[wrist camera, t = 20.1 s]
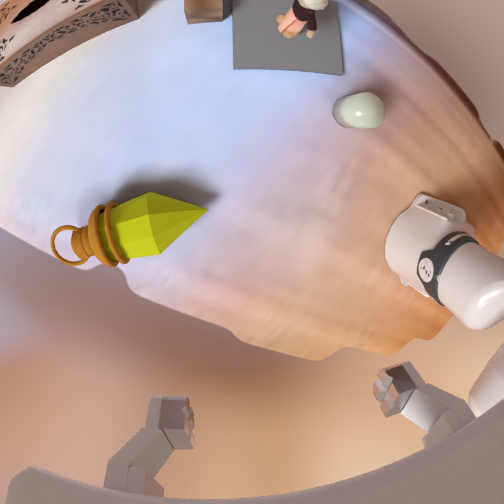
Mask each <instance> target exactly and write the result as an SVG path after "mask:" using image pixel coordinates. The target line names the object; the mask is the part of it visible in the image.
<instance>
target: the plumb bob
mask: <svg viewBox="0 0 504 504" xmlns="http://www.w3.org/2000/svg"><path fill="white" fill-rule="evenodd" d="M111 207H113V208H111ZM207 210H208V209H206V208H203V207H200V206H196V205H193V204H190V203H187V202H183V201H180V200H177V199H173V198H170V197H167V196H163V195H160V194H157V193H153V192H148V193H145V194H143V195H141V196H138V197H136V198H133V199H131V200H129V201H127V202H124V203H122V204H120V205H118V204H117V203H116V202H114V201H110V202H108V203H107V205H106V206H104V205H98V206H97V207H96V208H95V209H94V210H93V211H92V213H91V215H90V217H89V220H88V225H87V226H85V227H81V228H77V227H75V226H71V225H64V226H61V227H59V228H57V229H56V230H55V231H54V232H53V234H52V237H51V248H52V251H53V253H54V255H55V256H56V257H57V258H58V259H59V260H60V261H61V262H63V263H65V264H67V265H72V266H77V265H81V264H83V263H85V262H86V261H87V260H88V259H89V257H90V256H94V255H95V256H96V257H97V259H98V260H99V261H100V262H102V263H103V264H105V265H108V266H110V267H115V266H117V265H118V263H119V262H120V263H122V264H126V263H128V262H129V260H130V258H137V257H144V256H151V255H159V254H161V253H162V252H163V251H164V250H165V249H166V248H167V247H168V246H169V245H170V244H171V243H172V242H173V241H175V240H176V239H177V238H178V237H179V236H180V235H181V234H182V233H183V232H184V231H185V230H186V229H187V228H189V227H190V226H191V225H192V224H193V223H194V222H195V221H196V220H197V219H198V218H200V217H201V216H202V215H203V214H204V213H205V212H206V211H207ZM62 230H73V233H72V237H71V246H72V249H73V251H74V253H75V254H76V255H77V256H78V257H79V258H80V259H82V260H80V261H76V262H72V261H68V260H66V259H64V258H62V257H61V256H60V255H59V254H58V252H57V251H56V249H55V245H54V240H55V237H56V235H57V234H58V233H59V232H60V231H62Z"/></svg>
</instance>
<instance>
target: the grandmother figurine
mask: <svg viewBox="0 0 504 504" xmlns="http://www.w3.org/2000/svg"><path fill="white" fill-rule="evenodd" d="M327 4H328V0H294V2H293V5H292V7H291V9H290V10H289V11H288V12H287V13H286V15H284V14H280V15H278V16H277V17H276V20H277V22H278V23H279V26H278V30H279V31H280V32H282V34H283V36H284V37H286V38H289V39H290V38H294V37H296V36H299V35H300V31H301V30H302V29H303V27H304V25H305V24H306V22H307V33H306V36H307V37H308V38H313V37H314V33H315V31H316V30H317V24H316V18H315V10H320V9H324V8H325V7H326V6H327Z"/></svg>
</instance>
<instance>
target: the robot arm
mask: <svg viewBox="0 0 504 504" xmlns="http://www.w3.org/2000/svg"><path fill="white" fill-rule="evenodd" d="M425 201H426V203H425ZM385 256H386V261H387V264H388V266H389V267H390V269H391V270H392V271H393V272H395V273H396V274H397V275H398V276H399V278H400V281H401V283H402V284H403V285H404V286H410V285H411V286H412V287H414V288H415V289H416V290H418V291H419V292H420V293H422V294H423V295H425V296H427V297H429V296H431V298H432V299H433V300H434V301H435V302H437V303H439V304H440V305H442V306H446V307H447V308H448V309H449V310H450V311H451V312H452V313H453V314H454V315H455V316H456V317H457V318H458V319H459V320H460V321H461V322H462V323H463V324H464V325H465V326H466V327H468V328H470V329H472V330H484V329H488V328H490V327H492V326H494V325H496V324H497V323H499V322H501V321H502V320H504V258H501V257H499V256H498V255H496V254H494V253H492V252H490V251H488V250H486V249H485V247H484V248H483V247H482V245H481V246H480V245H479V243H478V242H477V241H476V239H475V238H474V229H473V226H472V225H471V224H469V223H467V222H466V215H465V211H464V209H462V208H460V207H458V206H455V205H453V204H450V203H447V202H445V201H442V200H439V199H437V198H434V197H431V196H428V195H425V194H422V193H420V194H418V195H417V196H416V198H415V199H414V201H413V203H412V204H411V206H410V207H409V208H408V209H406V210H405V211H404V212H402V213H401V214H400V215H399V216H398V218H397V219H396V220H395V222H394V223H393V225H392V227H391V228H390V231H389V233H388V236H387V240H386V245H385ZM378 377H379V378H378V379H377V380H376V381H375V382H374V385H373V393H374V396H375V398H376V400H378V401H379V402H381V405H380V408H381V410H382V412H383V414H384V415H385V417H389V416H392V415H394V414H397V413H400V412H401V414H403V415H404V416H405V417H407V418H408V419H410V420H411V421H413V422H414V423H416V424H417V425H419V426H420V427H421V428H423V429H424V430H426V431H427V432H428V433H427V434H426V435H425V436H424V438H423V439H422V443H423V445H424V446H425V449H423V450H421V451H418V452H416V453H414V454H412V455H410V456H408V457H406V458H403V459H401V460H399V461H396V462H394V463H392V464H389V465H387V466H384V467H381V468H379V469H376V470H374V471H371V472H368V473H365V474H362V475H359V476H356V477H353V478H349V479H346V480H343V481H339V482H336V483H332V484H328V485H324V486H319V487H315V488H311V489H306V490H301V491H296V492H290V493H284V494H277V495H270V496H261V497H251V498H240V499H239V498H238V499H180V498H179V499H178V498H165V497H164V488H163V487H162V486H161V485H160V484H159V483H158V482H157V481H156V480H155V479H154V477H155V475H156V474H157V473H158V471H159V470H160V469H161V468H162V466H163V465H164V463H165V462H166V461H167V459H168V458H169V456H170V455H171V454H172V452H173V451H174V449H194V435H193V432H192V430H193V428H194V413H193V409H192V407H190V401H189V398H188V397H165V396H164V397H163V396H152V397H151V398H150V401H149V407H148V413H147V419H146V426H145V428H141V429H140V430H139V431H138V432H137V433H136V434H135V435H134V436H133V437H132V438H131V439H130V440H129V441H128V442H127V443H126V444H125V445H124V446H123V447H122V448H121V449H120V450H119V451H118V452H117V453H116V454H115V455H114V456H113V457H112V458H111V459H110V460H109V461H108V465H107V470H106V476H105V482H104V487H99V486H95V485H92V484H88V483H84V482H81V481H77V480H74V479H71V478H68V477H65V476H62V475H59V474H56V473H53V472H51V471H48V470H45V469H42V468H40V467H37V466H30V467H28V468H26V469H25V470H23V471H22V472H20V473H19V474H17V475H16V476H15V477H14V478H12V480H11V481H10V484H9V487H8V492H7V497H6V502H5V504H504V343H503V344H502V345H501V347H500V348H499V350H498V351H497V352H496V353H495V354H494V356H493V357H492V358H491V359H490V361H489V362H488V363H487V365H486V367H485V369H484V370H483V371H482V373H481V374H480V376H479V378H478V379H477V381H476V382H475V384H474V385H473V387H472V388H471V390H470V392H469V400H468V405H467V403H466V402H465V400H463V399H461V398H458V397H456V396H454V395H452V394H450V393H447V392H445V391H443V390H441V389H439V388H437V387H435V386H433V385H431V384H429V383H428V384H426V383H425V382H424V380H423V379H422V377H421V376H420V375H419V373H418V372H417V370H416V369H415V368H414V366H413V365H412V363H411V362H409V361H407V362H404V363H401V364H396V365H393V366H390V367H387V368H383V369H381V370H380V371H379V372H378Z"/></svg>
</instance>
